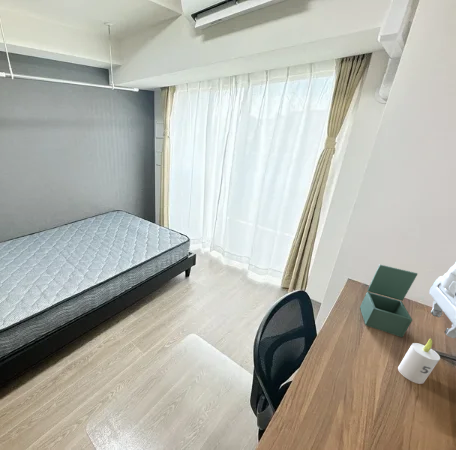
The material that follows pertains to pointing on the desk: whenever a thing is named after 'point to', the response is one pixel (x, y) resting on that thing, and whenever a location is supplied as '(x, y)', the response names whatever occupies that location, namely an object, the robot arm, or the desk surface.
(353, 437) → the desk surface
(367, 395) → the desk surface
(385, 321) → the box
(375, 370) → the desk surface
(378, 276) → the box lid
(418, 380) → the candle
